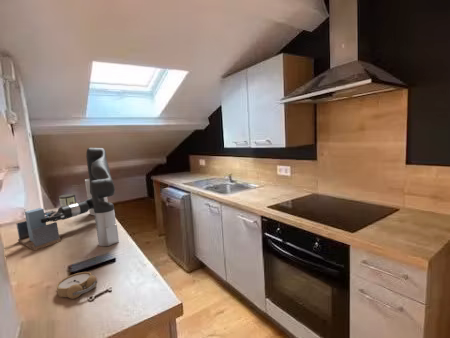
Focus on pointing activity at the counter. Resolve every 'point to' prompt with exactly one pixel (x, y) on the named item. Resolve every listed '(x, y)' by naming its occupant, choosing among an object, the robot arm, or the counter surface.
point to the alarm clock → (76, 285)
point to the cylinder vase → (91, 195)
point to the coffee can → (67, 199)
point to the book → (34, 220)
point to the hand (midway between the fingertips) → (37, 220)
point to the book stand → (31, 244)
